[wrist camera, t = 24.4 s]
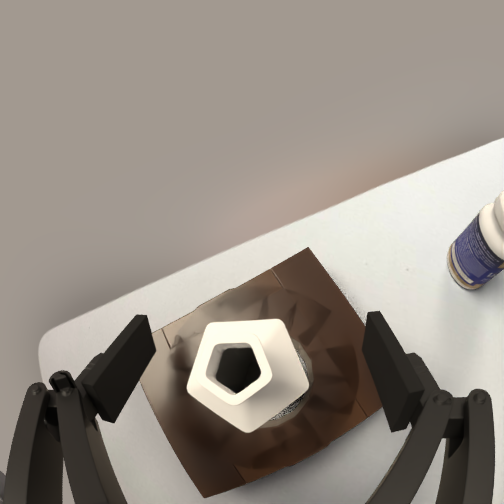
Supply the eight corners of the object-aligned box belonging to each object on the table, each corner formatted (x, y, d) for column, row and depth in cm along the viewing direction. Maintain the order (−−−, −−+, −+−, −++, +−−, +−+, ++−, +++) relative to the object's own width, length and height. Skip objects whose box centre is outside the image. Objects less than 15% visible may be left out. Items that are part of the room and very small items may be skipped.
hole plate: (217, 484, 16) (204, 500, 13) (147, 352, 22) (125, 344, 19) (387, 389, 19) (407, 389, 15) (304, 266, 24) (307, 245, 21)
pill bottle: (472, 302, 20) (534, 257, 12) (437, 265, 23) (489, 206, 14) (489, 265, 22) (541, 216, 13) (457, 232, 24) (501, 174, 15)
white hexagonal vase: (228, 363, 21) (139, 319, 8) (278, 344, 22) (270, 271, 8) (247, 414, 19) (181, 460, 6) (299, 395, 19) (331, 414, 6)
